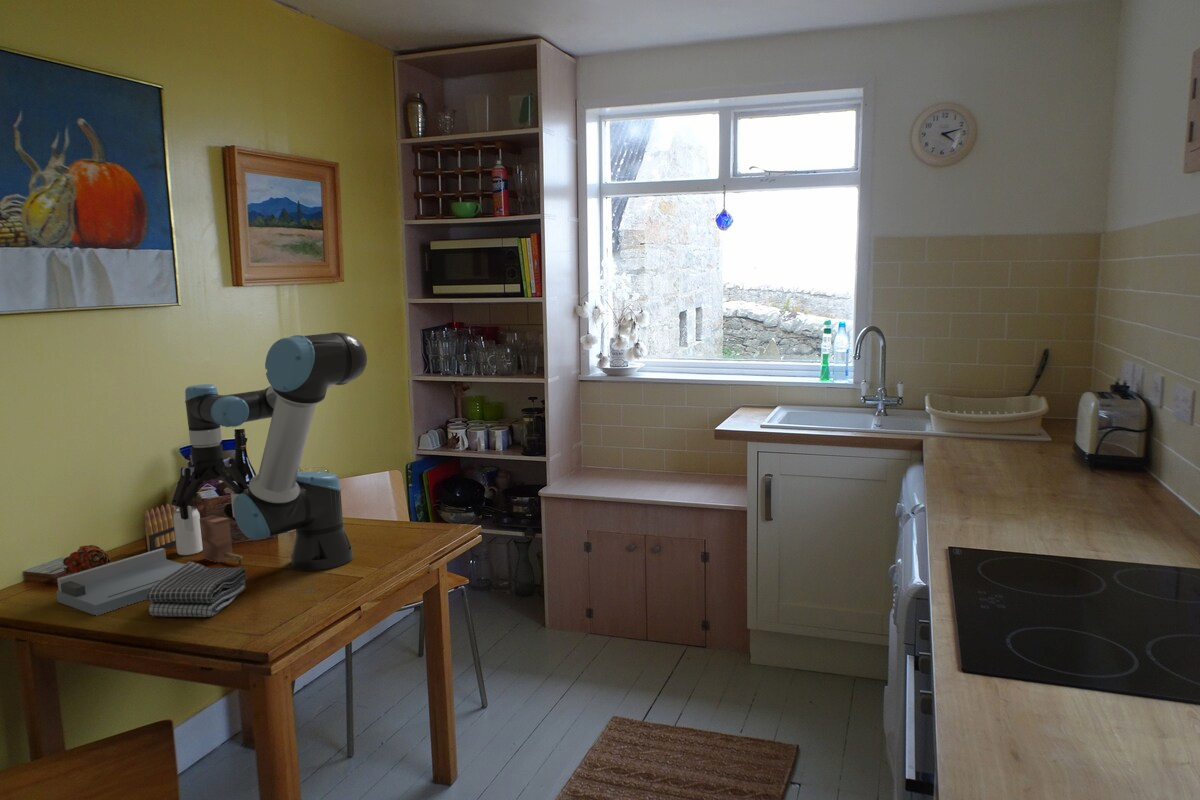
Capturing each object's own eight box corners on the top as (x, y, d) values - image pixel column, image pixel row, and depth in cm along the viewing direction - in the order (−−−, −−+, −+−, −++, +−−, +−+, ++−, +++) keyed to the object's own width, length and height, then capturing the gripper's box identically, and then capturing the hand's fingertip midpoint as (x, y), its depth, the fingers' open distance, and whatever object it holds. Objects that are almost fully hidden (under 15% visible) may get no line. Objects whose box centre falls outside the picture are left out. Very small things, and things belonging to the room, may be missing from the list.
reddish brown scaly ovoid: (111, 582, 218) (69, 589, 220) (124, 555, 224) (83, 561, 226) (89, 563, 212) (47, 570, 214) (104, 535, 218) (62, 542, 220)
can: (207, 551, 236) (202, 508, 234) (183, 557, 231) (178, 513, 229) (197, 546, 240) (192, 504, 238) (173, 552, 235) (168, 510, 234)
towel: (146, 621, 188) (142, 586, 187) (190, 590, 206) (186, 559, 205) (214, 620, 187) (210, 585, 186) (252, 589, 205) (249, 557, 204)
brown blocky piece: (248, 562, 224) (244, 521, 223) (234, 567, 221) (230, 525, 220) (217, 555, 232) (213, 515, 230) (203, 559, 229) (199, 519, 227)
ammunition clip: (151, 553, 235) (146, 511, 234) (146, 553, 236) (141, 510, 234) (182, 542, 245) (177, 500, 244) (177, 541, 246) (172, 500, 244)
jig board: (206, 579, 213) (203, 557, 212) (97, 616, 191) (93, 592, 191) (165, 568, 223) (163, 547, 222) (57, 601, 201) (54, 579, 200)
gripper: (240, 434, 236) (247, 510, 239) (150, 452, 216) (159, 534, 219) (257, 437, 232) (264, 513, 235) (167, 455, 212) (176, 539, 215)
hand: (213, 524), depth 227 cm, fingers open, 13 cm apart
